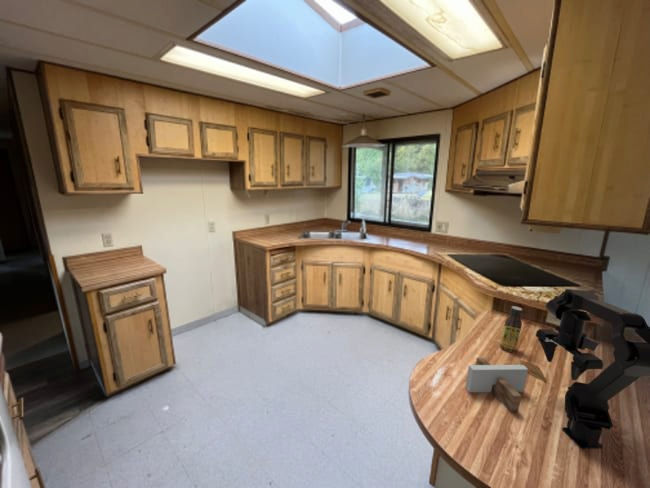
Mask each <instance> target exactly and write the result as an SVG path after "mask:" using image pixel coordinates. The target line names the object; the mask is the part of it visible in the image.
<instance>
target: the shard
mask: <svg viewBox="0 0 650 488" xmlns="http://www.w3.org/2000/svg"><path fill="white" fill-rule="evenodd" d="M518 365H524V366H525V367H526V368H527V369H528V373H527V374H530V375H531V376H533V377H535V378H536V379H538V380H541V381H542V382H545V383H547V382H548V379H547V378H546V377H545V375H544V373H543V370H541V368H540V367H539V365H538V364H536V363H534V362H531V361H528V360H522V359H518Z"/></svg>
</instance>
